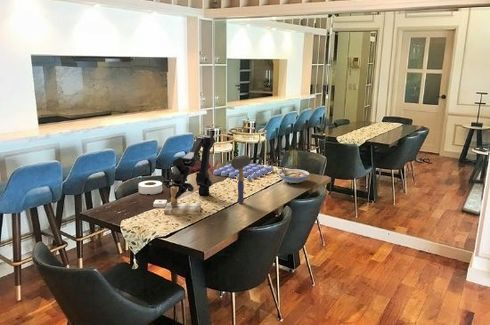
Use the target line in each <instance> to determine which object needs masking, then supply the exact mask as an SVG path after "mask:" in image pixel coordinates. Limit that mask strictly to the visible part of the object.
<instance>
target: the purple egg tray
mask: <svg viewBox="0 0 490 325" xmlns="http://www.w3.org/2000/svg"><path fill="white" fill-rule="evenodd" d="M259 170H260V171H259ZM246 171H247V172H246ZM271 171H272V172H273V166H269V165H268V166H265V165H261V164H256V163H250V164H249V165H248V166H246V167H243V178H244V177H247V178H246V179H247V180H250V181H251V180H252V179H253V178H256V179H257V178H258V177H257V176H262V175H263V174H267V173H268V172H271ZM212 172H213V175H214V176H220V175H221V177H223V178H225V176H226V177H227V176H228V177H229V179H234V178H235V177H237V180H239V169H234V168H233V167H232V166H231V163H229V164H228V165H227V164H226V165H223V167H220V168H219V169H214V170H213V171H212ZM254 172H255V173H254ZM227 174H229V175H227ZM268 174H269V173H268ZM268 174H267V175H268ZM235 175H236V176H235ZM249 175H251V176H249ZM263 176H264V175H263ZM263 176H262V177H263Z"/></svg>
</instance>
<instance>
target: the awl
mask: <svg viewBox="0 0 490 325" xmlns="http://www.w3.org/2000/svg"><path fill="white" fill-rule="evenodd" d="M177 192H178V187H171V198H170V203H171V206H174V207H175V206H178V198H177V199H175V196H176V194H177Z"/></svg>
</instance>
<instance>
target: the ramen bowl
mask: <svg viewBox="0 0 490 325" xmlns="http://www.w3.org/2000/svg"><path fill="white" fill-rule="evenodd" d="M277 173H278V174H277V175H278V176H279V177H280V179H282V181H284V182H286V183H288V182H289V183H288V184H291V183H297V184H299V183H302V182H304V181H306V180H307V179H308V178H309V176H310V172H309V171H306V170H304V169H297V168H296V169H295V168H287V169H286V168H285V167H281V169H280V170H279V171H278V172H277Z"/></svg>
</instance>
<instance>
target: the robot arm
mask: <svg viewBox="0 0 490 325" xmlns="http://www.w3.org/2000/svg"><path fill="white" fill-rule="evenodd" d="M214 144H215V138H214V136H213V135H208V134H207V135H206V134H205V135H202V136H198V137H196V139H195V142H194V144H193V146H192V147H191V148H190V150H189V152H188V153H187V154H185V155H184V156H183V157H181V156H178V158H176V159H174V160H173V161H172V165H173V167H174V168H175V170H177V171H178V173H176V174H172V173H171V174H170V177H169V180H168V179H164V180H163V182H162V185H163V186H164V187H165V188H166V189H169V198H170V199H171V187H177V194H176V196H175V199H177V200H178V198H179V197H181V196H182V195H184V194H185V193H187V192H194V189H195V188H194V185H192V183H189V182H187V181H188V179H187V178H188V176H189V174H192V169H191V168H193V167H195V165H196V164H197V156H198V154H199V152H200V150H201V149H202V153H201V159H200V166H199V167H200V169H199V171H198V172H196V176H195V182H196V186H199V187H198V195H199V197H200V196H203V197H205V196H206V197H208V196H210V187H212V186H213V185H212V184H213V182H212V180H211V179H210V173H209V172H208V170H209V160H210V154H211V150H212V148H213V147H214ZM171 180H172V181H171Z"/></svg>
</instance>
